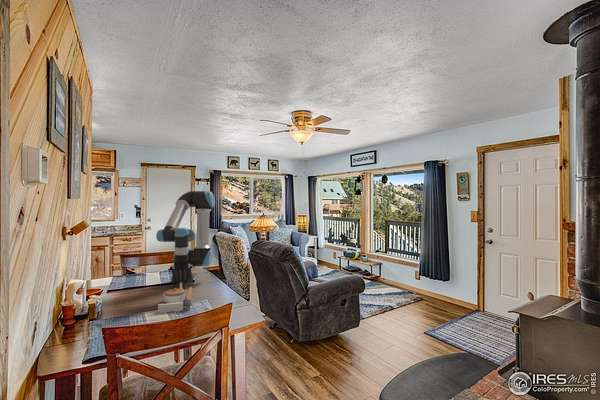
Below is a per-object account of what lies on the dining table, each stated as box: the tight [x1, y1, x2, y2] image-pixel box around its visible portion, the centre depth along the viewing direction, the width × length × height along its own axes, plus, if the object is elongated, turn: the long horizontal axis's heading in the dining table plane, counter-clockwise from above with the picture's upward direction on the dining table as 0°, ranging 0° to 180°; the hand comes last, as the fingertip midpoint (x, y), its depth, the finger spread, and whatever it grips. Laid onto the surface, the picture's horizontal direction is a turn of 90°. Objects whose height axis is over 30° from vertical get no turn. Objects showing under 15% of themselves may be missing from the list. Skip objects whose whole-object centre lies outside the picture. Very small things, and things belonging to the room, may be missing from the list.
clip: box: [184, 286, 193, 307], centre depth 170 cm, size 25×3×3 cm, turn 17°
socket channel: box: [157, 291, 191, 314], centre depth 166 cm, size 20×16×4 cm
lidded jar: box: [163, 287, 186, 304], centre depth 166 cm, size 11×11×9 cm
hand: (181, 294), depth 178 cm, fingers closed
